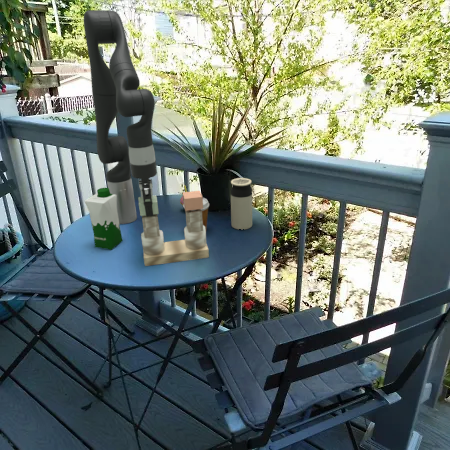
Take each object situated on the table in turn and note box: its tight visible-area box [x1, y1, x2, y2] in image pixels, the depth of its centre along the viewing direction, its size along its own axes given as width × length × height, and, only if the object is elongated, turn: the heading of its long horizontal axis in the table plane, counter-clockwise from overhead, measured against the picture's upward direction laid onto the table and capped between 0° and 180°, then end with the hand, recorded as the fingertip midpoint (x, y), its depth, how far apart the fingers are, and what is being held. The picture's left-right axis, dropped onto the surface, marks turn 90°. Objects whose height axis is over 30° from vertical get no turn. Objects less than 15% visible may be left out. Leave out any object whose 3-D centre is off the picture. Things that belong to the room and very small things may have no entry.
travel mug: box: [230, 177, 253, 230], centre depth 149 cm, size 8×8×18 cm
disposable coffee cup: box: [182, 197, 210, 230], centre depth 148 cm, size 10×10×12 cm
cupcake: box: [179, 184, 188, 206], centre depth 165 cm, size 9×8×12 cm
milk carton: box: [84, 187, 123, 251], centre depth 139 cm, size 9×9×20 cm
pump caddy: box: [140, 209, 210, 267], centre depth 131 cm, size 21×9×16 cm, turn 102°
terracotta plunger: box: [182, 190, 204, 211], centre depth 129 cm, size 6×6×11 cm
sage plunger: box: [138, 194, 160, 217], centre depth 127 cm, size 6×6×11 cm
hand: (149, 211), depth 126 cm, fingers closed on sage plunger, 5 cm apart
